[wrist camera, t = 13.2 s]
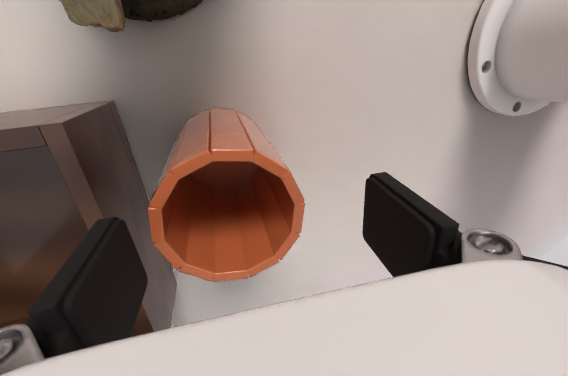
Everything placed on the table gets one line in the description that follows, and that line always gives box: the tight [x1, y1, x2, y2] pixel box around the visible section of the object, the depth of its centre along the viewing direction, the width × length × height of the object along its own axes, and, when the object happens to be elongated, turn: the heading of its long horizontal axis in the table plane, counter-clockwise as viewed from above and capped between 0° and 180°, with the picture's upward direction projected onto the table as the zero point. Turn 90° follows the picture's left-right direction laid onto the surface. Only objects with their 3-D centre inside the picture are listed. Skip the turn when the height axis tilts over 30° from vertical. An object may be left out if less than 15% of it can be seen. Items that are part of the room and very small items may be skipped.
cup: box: [148, 108, 305, 282], centre depth 16 cm, size 6×6×10 cm
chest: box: [0, 101, 177, 337], centre depth 16 cm, size 16×16×7 cm
